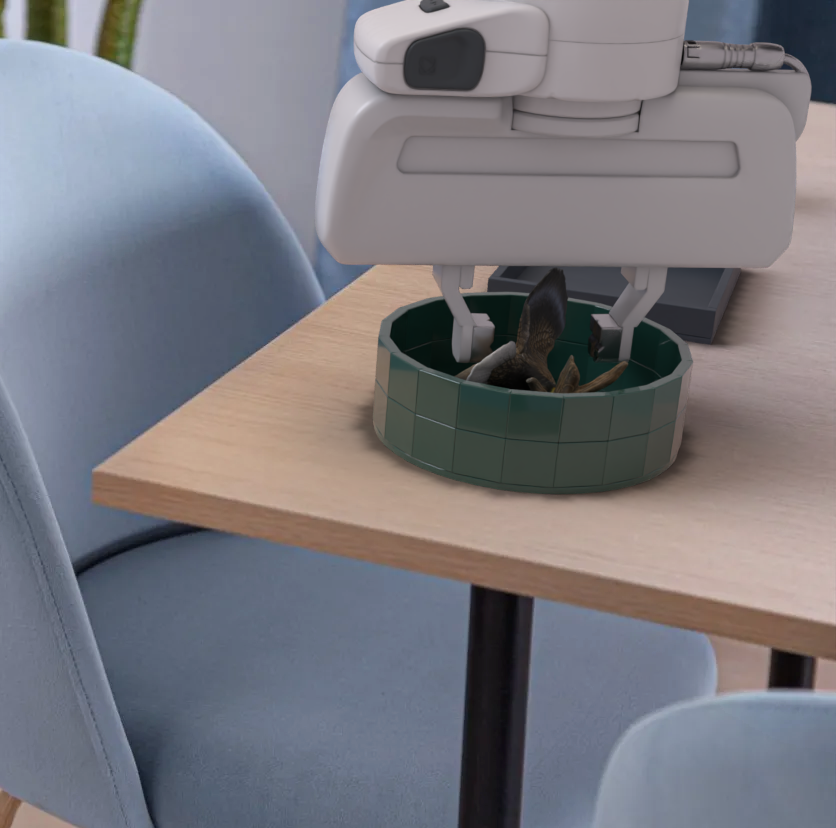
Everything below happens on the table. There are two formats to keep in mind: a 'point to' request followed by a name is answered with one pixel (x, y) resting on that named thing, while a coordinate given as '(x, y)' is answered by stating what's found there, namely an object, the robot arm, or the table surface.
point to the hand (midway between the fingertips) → (538, 358)
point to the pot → (529, 403)
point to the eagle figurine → (537, 347)
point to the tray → (675, 309)
